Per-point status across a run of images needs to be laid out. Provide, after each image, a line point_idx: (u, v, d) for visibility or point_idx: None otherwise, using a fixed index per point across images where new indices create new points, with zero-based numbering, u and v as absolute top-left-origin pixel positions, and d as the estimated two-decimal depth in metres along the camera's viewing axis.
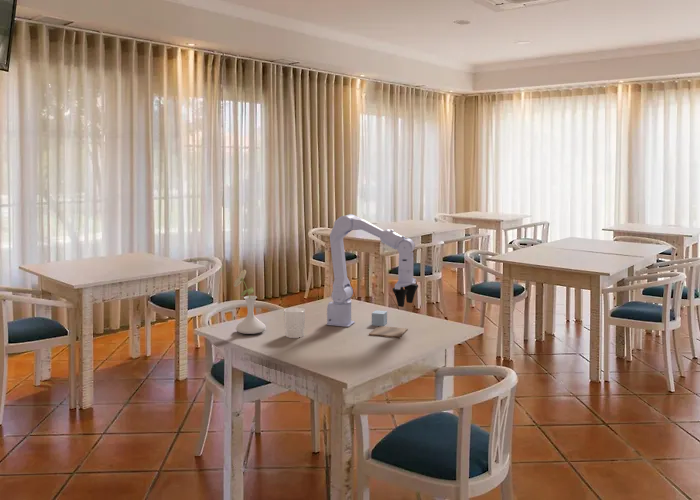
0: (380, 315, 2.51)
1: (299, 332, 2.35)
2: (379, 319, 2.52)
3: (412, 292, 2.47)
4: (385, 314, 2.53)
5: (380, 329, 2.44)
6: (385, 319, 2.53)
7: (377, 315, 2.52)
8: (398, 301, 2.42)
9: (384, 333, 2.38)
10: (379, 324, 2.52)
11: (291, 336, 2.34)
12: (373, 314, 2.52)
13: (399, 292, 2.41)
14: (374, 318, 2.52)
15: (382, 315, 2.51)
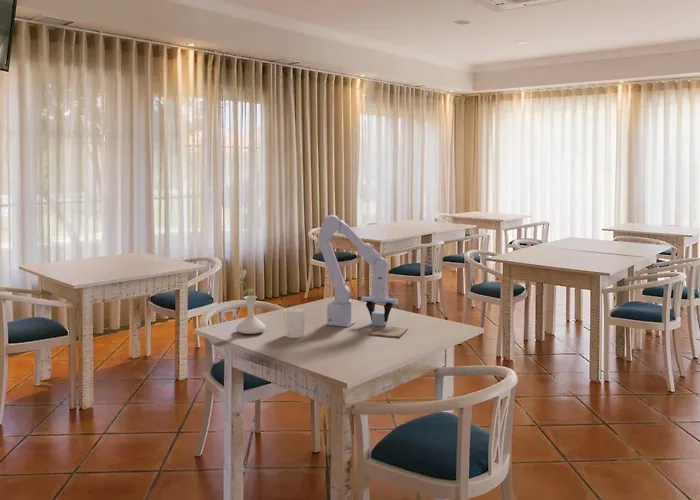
0: (380, 314, 2.51)
1: (299, 332, 2.35)
2: (379, 319, 2.52)
3: None
4: None
5: (380, 329, 2.44)
6: None
7: (377, 314, 2.52)
8: None
9: (384, 333, 2.38)
10: (379, 324, 2.52)
11: (291, 336, 2.34)
12: (373, 314, 2.52)
13: None
14: (374, 318, 2.52)
15: (382, 315, 2.51)
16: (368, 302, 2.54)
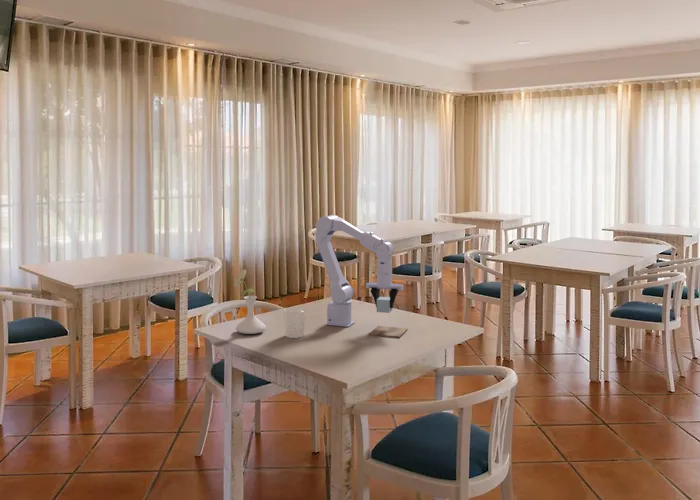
0: (385, 301, 2.44)
1: (299, 332, 2.35)
2: (384, 305, 2.44)
3: None
4: None
5: (380, 329, 2.44)
6: None
7: (382, 301, 2.44)
8: None
9: (384, 333, 2.38)
10: (384, 311, 2.44)
11: (291, 336, 2.34)
12: (378, 300, 2.45)
13: None
14: (379, 304, 2.45)
15: (387, 301, 2.43)
16: (373, 288, 2.46)
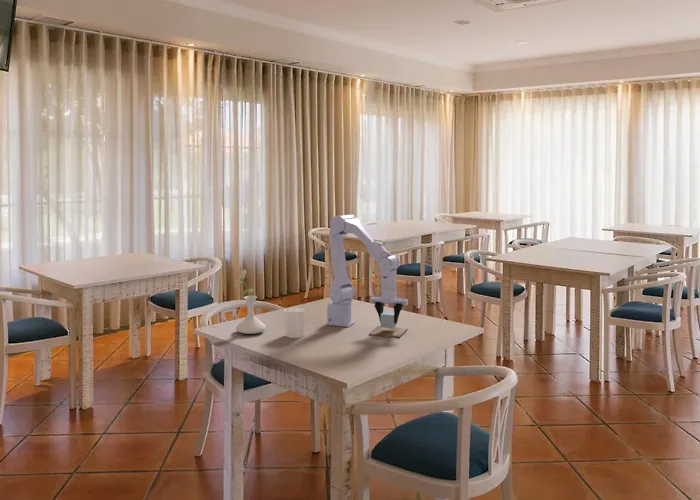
0: (389, 316, 2.38)
1: (299, 332, 2.35)
2: (388, 320, 2.39)
3: None
4: None
5: (380, 329, 2.44)
6: None
7: (386, 316, 2.39)
8: None
9: (384, 333, 2.38)
10: (388, 326, 2.39)
11: (291, 336, 2.34)
12: (382, 315, 2.39)
13: None
14: (383, 319, 2.39)
15: (392, 316, 2.38)
16: (377, 303, 2.41)
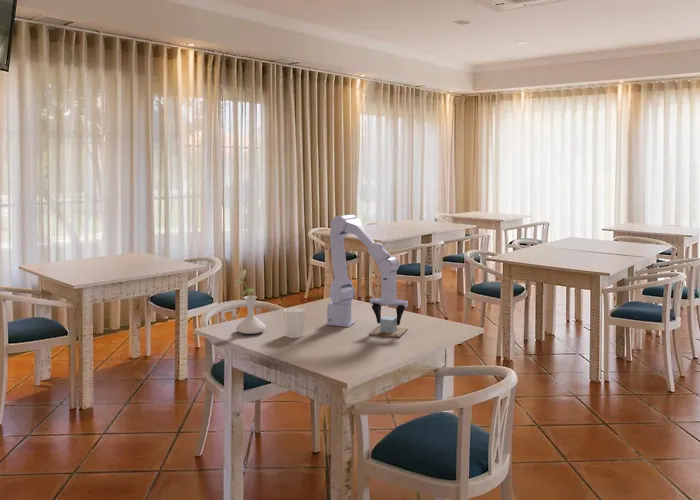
0: (389, 321, 2.39)
1: (299, 332, 2.35)
2: (388, 325, 2.39)
3: None
4: (394, 320, 2.41)
5: None
6: (394, 325, 2.41)
7: (386, 321, 2.39)
8: None
9: (384, 333, 2.38)
10: (388, 331, 2.39)
11: (291, 336, 2.34)
12: (382, 320, 2.40)
13: None
14: (383, 324, 2.40)
15: (391, 321, 2.38)
16: (377, 304, 2.41)
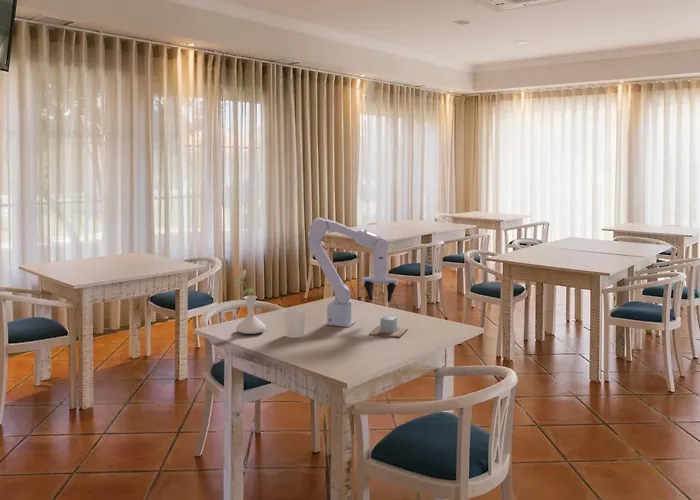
0: (389, 321, 2.39)
1: (299, 332, 2.35)
2: (388, 325, 2.39)
3: None
4: (394, 320, 2.41)
5: None
6: (394, 325, 2.41)
7: (386, 321, 2.39)
8: None
9: (384, 333, 2.38)
10: (388, 331, 2.39)
11: (291, 336, 2.34)
12: (382, 320, 2.40)
13: None
14: (383, 324, 2.40)
15: (391, 321, 2.38)
16: (369, 282, 2.53)
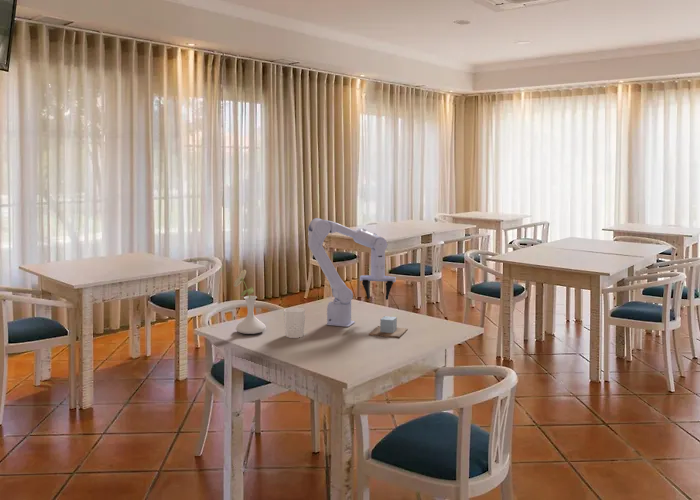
0: (389, 321, 2.39)
1: (299, 332, 2.35)
2: (388, 325, 2.39)
3: (386, 289, 2.55)
4: (394, 320, 2.41)
5: None
6: (394, 325, 2.41)
7: (386, 321, 2.39)
8: None
9: (384, 333, 2.38)
10: (388, 331, 2.39)
11: (291, 336, 2.34)
12: (382, 320, 2.40)
13: None
14: (383, 324, 2.40)
15: (391, 321, 2.38)
16: (366, 281, 2.57)
